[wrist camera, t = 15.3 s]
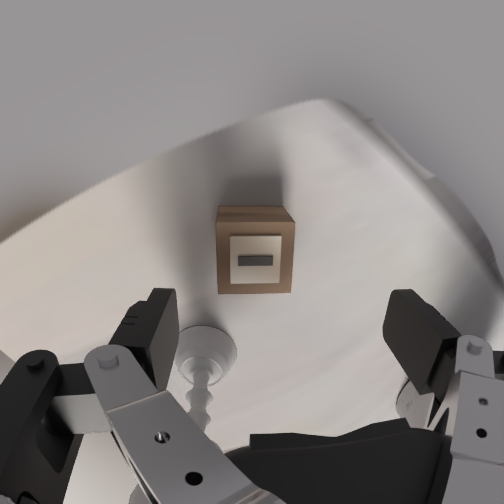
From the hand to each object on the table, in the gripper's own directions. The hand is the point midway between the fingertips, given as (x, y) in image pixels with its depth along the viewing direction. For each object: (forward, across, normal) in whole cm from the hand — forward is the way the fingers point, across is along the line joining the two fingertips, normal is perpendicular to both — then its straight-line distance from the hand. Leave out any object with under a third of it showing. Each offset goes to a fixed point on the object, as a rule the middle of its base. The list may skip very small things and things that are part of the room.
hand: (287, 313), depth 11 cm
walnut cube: (+10, +1, 0) cm, 10 cm away
